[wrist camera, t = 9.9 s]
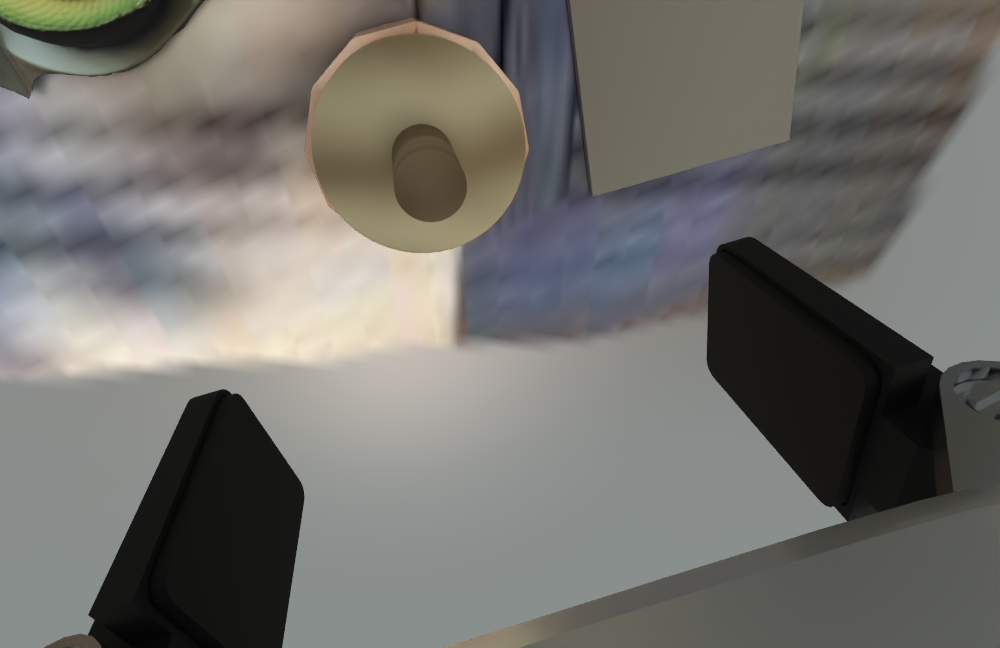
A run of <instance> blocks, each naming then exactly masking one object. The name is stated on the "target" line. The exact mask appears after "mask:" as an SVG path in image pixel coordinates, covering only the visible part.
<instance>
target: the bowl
mask: <svg viewBox="0 0 1000 648" xmlns="http://www.w3.org/2000/svg"><path fill="white" fill-rule="evenodd" d="M413 33H417V34H427V35H433V36H437V37H441V38H445V39H448V40H450V41H453V42H455V43H457V44H460V45H461V46H463V47H465V48H467V49H468V50H470V51H472V52H473V53H475V54H476V55H478V56H479V57H480V58H481V59H483V60H484V61H485V62H486V63H488V64H489V65H490V66H491V67H492V68H493V69H494V70H495V71H496V72H497V73H498V74H499V76H500V77H501V79H502V80H503V81H504V83H505V84H506V85H507V87H508V88H509V90H510V92H511V94H512V96H513V97H514V99H515V102H516V104H517V107H518V109H519V112H520V115H521V118H522V122H523V126H524V133H525V161H526V157H527V154H528V151H529V146H528V141H527V135H526V130H525V124H524V119H523V113H522V108H521V102H520V97H519V91H518V90H517V89H516V87H515V86H514V85H513V84H512V83H511V81H510V80H509V79H508V78H507V77H506V75H505V74H504V73H503V72H502V70H501V69H500V68H499V67H498V66H497V64H496V63H495V62H494V61H493V60H492V58H491V57H490V56H489V55H488V54H487V52H486V51H485V50H484V49H483V47H482V46H481V45H480V44H479V43H478V42H477V41H475V40H473V39H471V38H469V37H467V36H464V35H461V34H458V33H455V32H452V31H450V30H447V29H444V28H441V27H439V26H436V25H432V24H429V23H426V22H424V21H421V20H418V19H415V18H408V19H404V20H401V21H397V22H392V23H387V24H383V25H380V26H377V27H374V28H371V29H367V30H363V31H360V32H357V33H356V34H355V35H354V36H353V37H352V39H351V40H350V41H349V42H348V43H347V45H346V46H345V47H344V48H343V49H342V51H341V52H340V53H339V54H338V55H337V57H336V58H335V59H334V60H333V61H332V63H331V64H330V65H329V66H328V67H327V69H326V70H325V71H324V72H323V73H322V75H321V76H320V77H319V78H318V80H317V81H316V82H315V84H314V85H313V87H312V90H311V98H310V107H309V115H308V124H307V132H306V141H305V149H304V150H305V153H306V155H307V158H308V160H309V162H310V165H311V167H312V169H313V171H314V174H315V176H316V178H317V181H318V183H319V185H320V182H319V180H318V177H317V174H316V171H315V167H314V162H313V158H312V147H311V134H312V124H313V119H314V113H315V110H316V107H317V104H318V101H319V98H320V96H321V94H322V92H323V90H324V88H325V86H326V85H327V83H328V81H329V80H330V78H331V77H332V76H333V74H334V73H335V71H336V70H337V69H338V68H339V67H340V65H341V64H342V63H343V62H344V61H345V60H346V59H347V58H348V57H350V56H351V55H352V54H354V53H355V52H356V51H358V50H359V49H361V48H362V47H364V46H366V45H368V44H370V43H372V42H374V41H377V40H379V39H382V38H385V37H389V36H394V35H399V34H413ZM524 164H525V163H524ZM320 188H321V190H322V192H323V195H324V197H325V199H326V202H327V204H328V205H329V207H330V208H332V209H333V210H334V211H335V212H337V211H336V210H335V209H334V207H333V206H332V204H331V203H330V202H329V200H328V199H327V197H326V195H325V193H324V191H323V189H322V187H321V185H320ZM513 198H514V197H513ZM512 201H513V199H512ZM512 201H511V202H512ZM337 213H338V212H337ZM373 242H374V241H373Z"/></svg>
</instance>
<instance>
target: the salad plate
mask: <svg viewBox="0 0 1000 648" xmlns="http://www.w3.org/2000/svg"><path fill="white" fill-rule="evenodd" d="M203 1H204V0H0V86H1V87H2V88H6V89H8V90H10V91H15V92H17V93H18V94H20V95H23V96H25V97H27V98H28V99H29V98H30V96H31V92H32V90H33V86H32V85H33V81H34V80H35V79H36V78H37V77H38V76H40V75H43V74H67V75H80V76H90V77H92V76H99V75H102V76H107V75H110V74H112V73H118V72H125V71H128V70H131V69H133V68H135V67H137V66H139V65H140V64H142V63H143V62H145V61H146V60H148V59H149V58H151V57H152V56H153V55H154V54H156V53H157V52H158V51H159V50H160V49H161V48H162V47H163V46H164V44H165V43H166V42H167V41H168V40H169V39H170V38H171V37H172V36H173V35H175V34H176V33H177V32H179V31H180V30H181V29H183V28H184V27H185V25H186V24H187V22H188V21H189V19H190V17H191V16H192V15H193V13H194V12H195V11H196V10H197V8H198V7H199V6H200V5H201V4H202V2H203Z"/></svg>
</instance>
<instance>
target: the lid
mask: <svg viewBox="0 0 1000 648" xmlns="http://www.w3.org/2000/svg"><path fill="white" fill-rule="evenodd" d="M311 147H312V158H313V162H314V167H315V171H316V174H317V177H318V180H319V182H320V185H321V187H322V189H323V191H324V193H325V195H326V197H327V199H328V200H329V202H330V203H331V204H332V206H333V207H334V209H335V210H336V211H337V212H338V214H339V215H340V216H341V217H342V218H343V219H344V220H345V221H346V222H347V223H348V224H349V225H350V226H351V227H353V228H354V229H355V230H356V231H358V232H359V233H361V234H362V235H364V236H365V237H367V238H368V239H370V240H372V241H374V242H376V243H378V244H381V245H383V246H386V247H389V248H392V249H396V250H400V251H405V252H413V253H431V252H440V251H444V250H448V249H452V248H455V247H458V246H461V245H463V244H465V243H467V242H469V241H471V240H473V239H475V238H477V237H478V236H480V235H481V234H483V233H484V232H485V231H486V230H488V229H489V228H490V227H491V226H492V225H493V224H494V223H495V222H496V221H497V220H498V219H499V218H500V217H501V216H502V215H503V213H504V212H505V210H506V209H507V208H508V206H509V205H510V203H511V201H512V199H513V197H514V196H515V194H516V191H517V189H518V186H519V184H520V181H521V177H522V173H523V169H524V163H525V133H524V126H523V122H522V118H521V115H520V112H519V109H518V107H517V104H516V102H515V99H514V97H513V96H512V94H511V92H510V90H509V88H508V87H507V85H506V84H505V83H504V81H503V80H502V79H501V77H500V76H499V74H498V73H497V72H496V71H495V70H494V69H493V68H492V67H491V66H490V65H489V64H488V63H486V62H485V61H484V60H483V59H481V58H480V57H479V56H478V55H476V54H475V53H473V52H472V51H470V50H468V49H467V48H465V47H463V46H461V45H460V44H457V43H455V42H453V41H450V40H448V39H445V38H441V37H437V36H433V35H427V34H417V33H413V34H399V35H394V36H389V37H385V38H382V39H379V40H377V41H374V42H372V43H370V44H368V45H366V46H364V47H362V48H361V49H359V50H358V51H356V52H355V53H354V54H352V55H351V56H350V57H348V58H347V59H346V60H345V61H344V62H343V63H342V64H341V65H340V67H339V68H338V69H337V70H336V71H335V73H334V74H333V76H332V77H331V78H330V80H329V81H328V83H327V85H326V86H325V88H324V90H323V92H322V94H321V96H320V98H319V101H318V104H317V107H316V110H315V113H314V119H313V124H312V134H311Z"/></svg>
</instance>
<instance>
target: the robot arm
mask: <svg viewBox="0 0 1000 648" xmlns="http://www.w3.org/2000/svg"><path fill="white" fill-rule="evenodd" d="M932 360H933V356H931V355H930V354H928V353H926V352H925V351H924V350H922V349H920V348H919V347H918V346H916V345H915V344H913V343H912V342H910V341H909V340H907V339H905V338H904V337H903V336H901V335H900V334H898V333H897V332H895V331H894V330H892V329H891V328H889V327H887V326H886V325H884V324H883V323H881V322H880V321H878V320H877V319H875V318H874V317H872V316H871V315H869V314H868V313H866V312H865V311H863V310H862V309H860V308H859V307H857V306H856V305H854V304H853V303H851V302H850V301H848V300H847V299H845V298H844V297H842V296H841V295H839V294H838V293H836V292H835V291H833V290H832V289H830V288H829V287H827V286H826V285H824V284H823V283H821V282H820V281H818V280H817V279H815V278H814V277H812V276H811V275H809V274H808V273H806V272H805V271H803V270H802V269H800V268H799V267H797V266H796V265H794V264H793V263H791V262H790V261H788V260H787V259H785V258H783V257H782V256H780V255H779V254H777V253H776V252H774V251H773V250H771V249H770V248H768V247H767V246H765V245H764V244H762V243H761V242H759V241H758V240H756V239H755V238H752V237H746V238H742V239H739V240H735V241H732V242H729V243H725V244H722V245H720V246H719V247H718V249H717V252H716V254H714V255H712V256H711V258H710V262H709V294H708V332H707V364H708V368H709V370H710V372H711V374H712V376H713V377H714V378H715V379H716V381H717V382H718V383H719V384H720V385H721V387H722V388H723V389H724V390H725V391H726V392H727V393H728V395H729V396H730V397H731V398H732V399H733V400H734V402H735V403H736V404H737V405H738V406H739V407H740V409H741V410H742V411H743V412H744V413H745V414H746V416H747V417H748V418H749V419H750V420H751V421H752V423H753V424H754V425H755V426H756V427H757V428H758V430H759V431H760V432H761V433H762V434H763V435H764V436H765V438H766V439H767V440H768V441H769V442H770V444H772V446H773V447H774V448H775V449H776V450H777V452H778V453H779V454H780V455H781V456H782V457H783V459H784V460H785V461H786V462H787V463H788V464H789V465H790V467H791V468H792V469H793V470H794V471H795V473H796V474H797V475H798V476H799V477H800V478H801V480H802V481H803V482H804V483H805V484H806V485H807V487H809V489H810V490H811V491H812V492H813V494H814V495H815V496H816V497H817V498H818V499H819V500H820V501H821V502H822V503H823V504H824V505H826V506H828V507H832V506H834V507H835V508H836V509H837V510H838V511H839V512H840V513H841V515H842V516H843V517H844V518H845V519H846V520H847V522H844V523H841V524H837V525H834V526H831V527H827V528H824V529H821V530H817V531H814V532H811V533H807V534H804V535H801V536H798V537H795V538H791V539H788V540H785V541H782V542H778V543H775V544H772V545H769V546H766V547H763V548H759V549H756V550H753V551H750V552H746V553H743V554H740V555H737V556H734V557H730V558H727V559H724V560H721V561H718V562H714V563H711V564H708V565H704V566H701V567H698V568H695V569H692V570H688V571H685V572H682V573H679V574H676V575H672V576H669V577H666V578H663V579H660V580H656V581H654V582H650V583H647V584H644V585H641V586H637V587H634V588H631V589H628V590H625V591H621V592H618V593H615V594H612V595H609V596H606V597H603V598H599V599H596V600H593V601H590V602H587V603H584V604H580V605H577V606H574V607H571V608H568V609H564V610H561V611H558V612H555V613H552V614H549V615H546V616H542V617H539V618H536V619H533V620H530V621H527V622H524V623H520V624H517V625H514V626H511V627H508V628H505V629H502V630H498V631H495V632H492V633H489V634H486V635H483V636H479V637H476V638H473V639H470V640H467V641H464V642H461V643H457V644H454V645H452V646H448V647H445V648H1000V362H999V361H980V360H978V361H970V362H962V363H959V364H957V365H954V366H952V367H949V368H948V369H947V370H946V371H945V372H944V373H943V372H941V371H940V370H938V369H937V368H935V367H934V366H933V365H931V364H932ZM303 504H304V491H303V487H302V484H301V482H300V480H299V479H298V477H297V476H296V474H295V473H294V471H293V470H292V469H291V467H290V466H289V464H288V463H287V461H286V460H285V458H284V457H283V455H282V454H281V453H280V451H279V450H278V448H277V447H276V445H275V444H274V442H273V441H272V439H271V438H270V436H269V435H268V434H267V432H266V431H265V429H264V428H263V426H262V425H261V424H260V422H259V421H258V419H257V418H256V416H255V415H254V413H253V412H252V410H251V409H250V407H249V406H248V405H247V403H246V402H245V400H244V399H243V398H242V397H241V395H239V394H231V393H230V392H229V391H227V390H219V391H215V392H211V393H208V394H205V395H201V396H198V397H194V398H192V399H190V401H189V402H188V404H187V406H186V408H185V410H184V412H183V414H182V416H181V418H180V420H179V423H178V425H177V427H176V429H175V431H174V433H173V436H172V438H171V440H170V442H169V444H168V446H167V448H166V450H165V453H164V455H163V457H162V459H161V461H160V463H159V465H158V467H157V469H156V472H155V474H154V476H153V478H152V480H151V482H150V484H149V487H148V489H147V491H146V493H145V495H144V497H143V499H142V502H141V504H140V506H139V508H138V510H137V512H136V514H135V516H134V519H133V521H132V523H131V525H130V527H129V529H128V531H127V533H126V536H125V538H124V540H123V542H122V544H121V547H120V548H119V551H118V553H117V555H116V557H115V559H114V561H113V564H112V566H111V568H110V570H109V572H108V574H107V576H106V578H105V580H104V583H103V585H102V587H101V589H100V591H99V593H98V595H97V598H96V600H95V602H94V604H93V606H92V608H91V610H90V613H89V616H90V617H92V618H93V619H94V620H95V621H94V623H93V625H92V627H91V629H90V632H89V634H88V635H84V634H77V635H72V636H68V637H64V638H62V639H60V640H58V641H56V642H54V643H52V644H50V645H48V646H46V647H44V648H282V644H283V637H284V631H285V624H286V617H287V610H288V604H289V598H290V591H291V584H292V578H293V571H294V564H295V558H296V551H297V545H298V538H299V531H300V525H301V518H302V511H303Z"/></svg>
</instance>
